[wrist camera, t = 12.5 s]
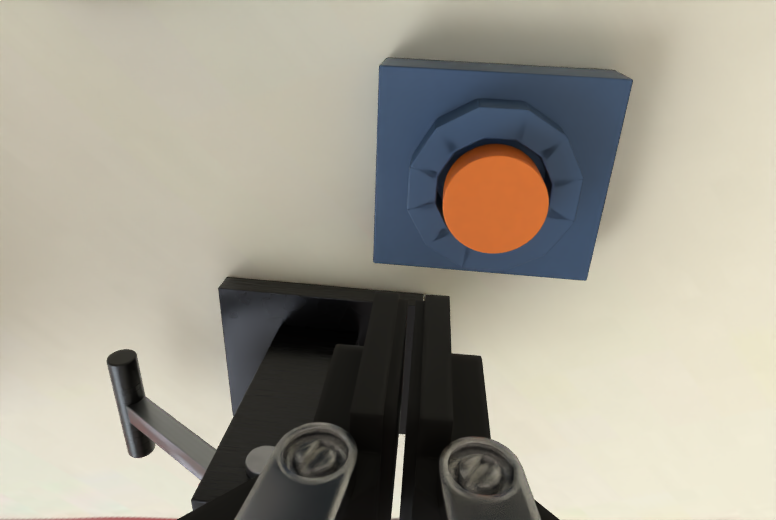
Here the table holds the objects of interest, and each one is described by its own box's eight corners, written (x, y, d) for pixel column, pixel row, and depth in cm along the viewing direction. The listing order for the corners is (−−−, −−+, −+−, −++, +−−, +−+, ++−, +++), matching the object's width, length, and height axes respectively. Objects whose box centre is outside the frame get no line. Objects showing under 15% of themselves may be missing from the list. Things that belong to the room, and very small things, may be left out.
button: (439, 232, 24) (438, 249, 22) (447, 140, 22) (447, 151, 20) (533, 239, 23) (539, 257, 22) (550, 147, 21) (557, 159, 20)
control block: (379, 240, 29) (367, 281, 25) (386, 57, 24) (373, 71, 20) (575, 255, 28) (596, 301, 24) (615, 69, 24) (648, 86, 20)
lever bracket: (239, 401, 35) (135, 605, 23) (226, 276, 31) (92, 449, 19) (413, 420, 34) (393, 640, 22) (423, 293, 30) (405, 485, 18)
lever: (155, 430, 30) (113, 456, 28) (137, 340, 27) (89, 363, 26) (315, 557, 24) (274, 601, 22) (312, 457, 21) (265, 498, 19)
